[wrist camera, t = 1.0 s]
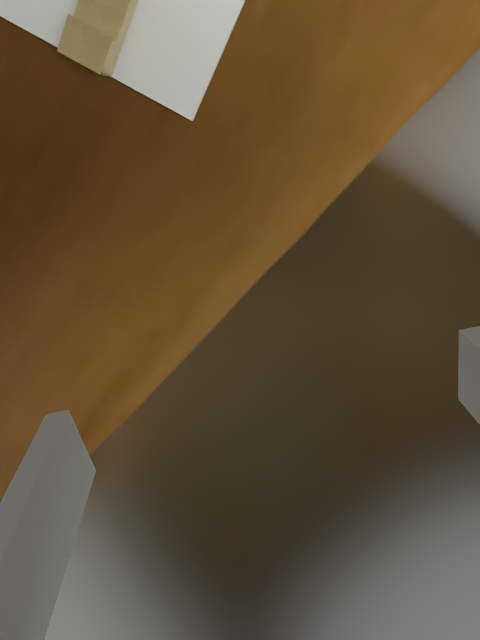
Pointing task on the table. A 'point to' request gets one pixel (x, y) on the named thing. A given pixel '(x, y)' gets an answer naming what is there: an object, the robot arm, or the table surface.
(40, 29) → the door fixture
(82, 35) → the latch bar
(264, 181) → the table surface
